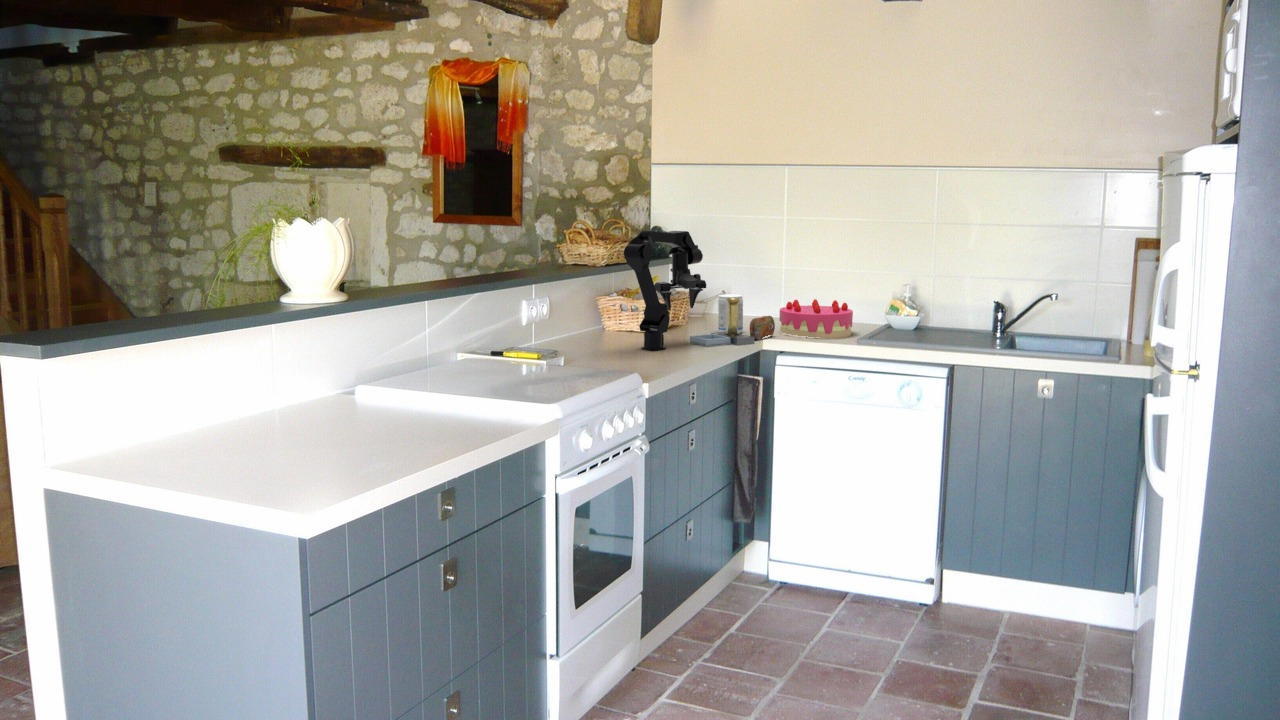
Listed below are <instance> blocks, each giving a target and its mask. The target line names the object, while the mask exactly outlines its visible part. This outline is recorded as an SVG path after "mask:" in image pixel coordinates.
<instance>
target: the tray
mask: <svg viewBox="0 0 1280 720" xmlns="http://www.w3.org/2000/svg"><path fill="white" fill-rule="evenodd" d="M730 340H731V338H730V337H725V336H721V335H716V334H711V333H708V334H698V335H690V336H689V344H693V345H697V346H703V347H706V348H708V347H718V346H729V345H730V346H731V344H730Z"/></svg>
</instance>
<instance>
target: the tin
mask: <svg viewBox="0 0 1280 720" xmlns="http://www.w3.org/2000/svg"><path fill="white" fill-rule="evenodd" d="M775 327H776V323H775V319H774V317H772V315H763V316H758V317H754V318H752V319H751V320H750V323H749V336H753V337H755V340H756V341H762V338H763V337H765V336H768V335H772V336H774V333H775Z"/></svg>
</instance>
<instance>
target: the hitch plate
mask: <svg viewBox="0 0 1280 720" xmlns="http://www.w3.org/2000/svg"><path fill="white" fill-rule="evenodd" d="M710 334H716V335H721V336H725V337H730V338H731V340H730V345H734V346H742V345H753V344H755V342H756V341H755V337H753V336H750V335H748V334H743V333H737V336H728V331H726V332H719V331H716V332H715V331H714V332H710Z"/></svg>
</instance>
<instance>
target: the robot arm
mask: <svg viewBox="0 0 1280 720" xmlns="http://www.w3.org/2000/svg"><path fill="white" fill-rule="evenodd" d="M690 233H691V232H690V231H688V230H687V231H686V230H668V231H667V232H666V231H658V230H657V231H655V230H652V229H644V230H641V231H640V232H639V234H638V235H637V236H635V237H634V238H633V239H631V240H630V241H629V242H628V243H627V245H626V246H625V248H624V249H623V257H624V259H625V261H626V263H627V265H628V266H629V267H630V268H631V269H632V270H633V271H634V273H635V276H636V280H637V284H638V286H639V289H640V293H641V295H642V299H643V301H644V304H645V308H644V310H643V311H644V312H643V319H641V320H642V321H641V322H640V324H639V326H638V327H639V331H640V332H643V337H644V338H643V340H644V341H643V346H641V347H640V349H641V348H642V350H647V351H654V352H655V351H659V350H660V351H661V350H666V349H667V347H665V345H664V343H665V338H664V337H665V336H664V333H667V332H668V329H669V325H670V321H671V320H670V315H669V314H670V311H671V310H672V309H671V308H672V305H671V295H672V292H671V290H673V289H674V290H675V289H685V290H688V294H689V295H688V296H689V307H690V309H693V308H694V305H695V303H696V301H697V298H698V295H699V293H701V292H702V291H704V289H707V282H706V280H705V279H701V274H699V273H695V274H691V269H690V268H689V266H690V265H695V264H699V263H701V262H702V261H703V259H704V258H703V256H704V255H703V252H702V251H701V249H700V248H699V245H698V244H695V242H694V240H693V237H692V236H691V234H690ZM644 243H646V244H644ZM655 243H662V244H666V245H667V246H670V247H671V249H670V250H669V251H668V255H671V268H670V272H671V273H672V274H671V275H672V276H671V277H672V279H670V282H666V281H659V282H655V283H654V280H653V277H652V274H651V270H650V267H649V266H650V262H651V259H652V258H651V254H652V253H653V251H654V249H655V248H654V244H655ZM658 293H659V294H660V296H661V297H662V299H663V301H664V303H661V302H660V300H659V295H658Z"/></svg>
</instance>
